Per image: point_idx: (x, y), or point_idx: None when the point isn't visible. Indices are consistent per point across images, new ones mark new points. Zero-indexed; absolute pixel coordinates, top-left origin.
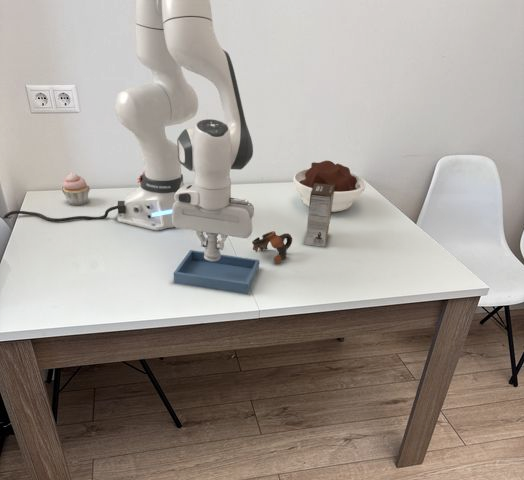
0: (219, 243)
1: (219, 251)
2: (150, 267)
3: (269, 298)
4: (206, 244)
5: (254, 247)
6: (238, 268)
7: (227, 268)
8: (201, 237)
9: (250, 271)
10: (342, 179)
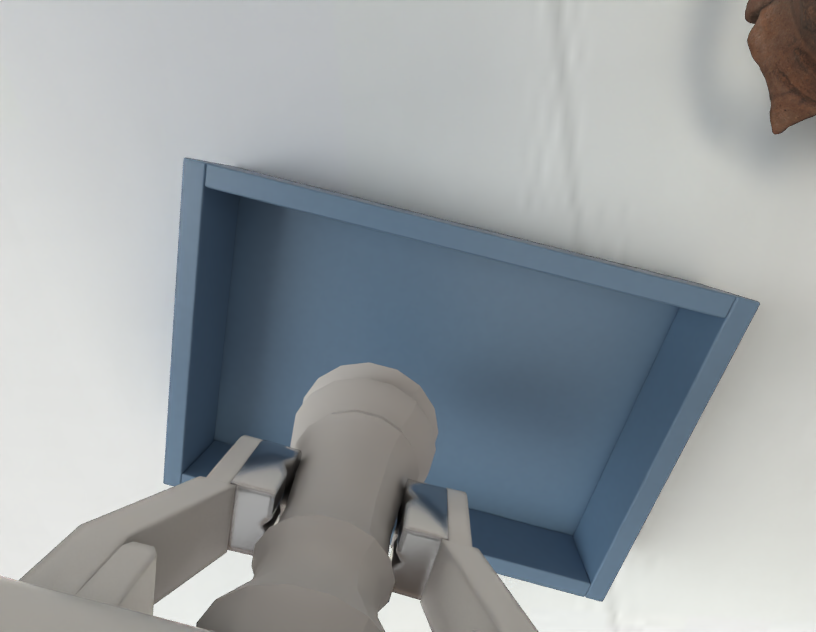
0: (419, 590)
1: (424, 450)
2: (32, 285)
3: (688, 576)
4: (280, 506)
5: (786, 67)
6: (558, 298)
7: (483, 303)
8: (178, 580)
9: (637, 335)
10: None
